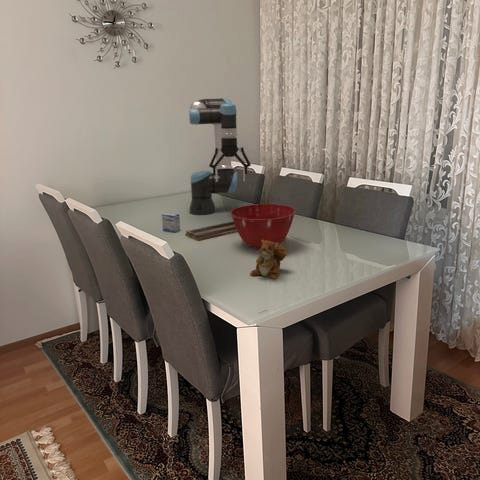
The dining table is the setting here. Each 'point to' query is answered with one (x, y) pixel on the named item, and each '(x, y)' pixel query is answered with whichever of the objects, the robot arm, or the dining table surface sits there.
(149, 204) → the dining table surface
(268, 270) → the stuffed squirrel
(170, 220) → the medicine box
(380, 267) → the dining table surface
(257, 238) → the mixing bowl
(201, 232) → the tray
